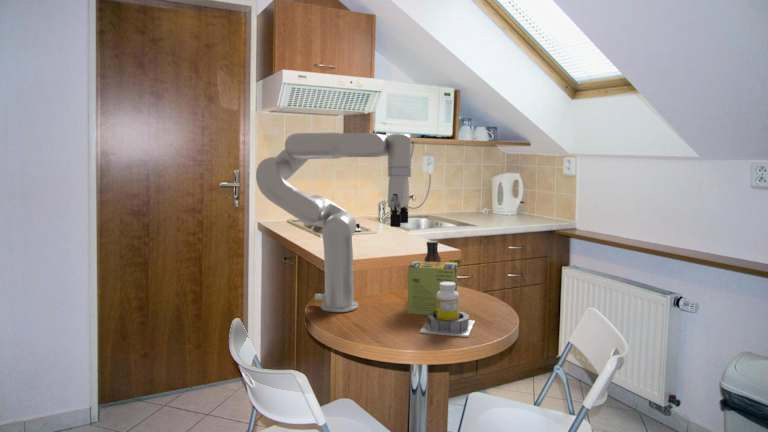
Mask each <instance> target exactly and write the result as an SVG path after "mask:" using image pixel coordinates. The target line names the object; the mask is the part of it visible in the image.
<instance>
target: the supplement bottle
mask: <svg viewBox="0 0 768 432" xmlns="http://www.w3.org/2000/svg"><path fill="white" fill-rule="evenodd" d="M455 288H456V284H455V283H454V282H441V283H440V291H439V292H438V293H437V295H436V318H437V319H440V320H449V321H450V320H459V311H460V293H459V292H458V291H457V292H456V291H455Z"/></svg>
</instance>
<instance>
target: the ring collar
mask: <svg viewBox="0 0 768 432" xmlns="http://www.w3.org/2000/svg"><path fill="white" fill-rule="evenodd" d="M426 316H427V318H426V322H425V323H424V324H423V326H422V327H421V329H420V330H419V334H429V335H441V336H451V337H461V338H469V336H470V335H471V332H472V330H473V327H474V325H475V324H476V320H471V319H470V315H469V314H468V313H467V312H463V311H460V310H459V320H450V321H449V320H440V319H437V318H436V311H433V312H430V313H429V314H428V315H426Z"/></svg>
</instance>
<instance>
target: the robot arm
mask: <svg viewBox="0 0 768 432" xmlns="http://www.w3.org/2000/svg"><path fill="white" fill-rule="evenodd" d="M385 156H387V177H388V188H387V189H388V190H387V207H388V208H389V209H390V212H389V215H390V217H389V218H390V221H389V222H390V223H389V225H390V227H391V228H400V227H401V224H408V223H409V205H410V181H409V178H411V177H412V137H411V136H410V135H409V134H407V133H393V134H390V135H389V134H382V133H381V134H380V133H378V132H377V133H376V132H364V133H363V132H357V133H356V132H355V133H354V132H353V133H352V132H351V133H349V132H347V133H345V132H344V133H341V132H340V133H339V132H296V133H291V134H290V135H288V136H287V137H286V139H285V142H284V149H283V150H282V151H280V153H279V154H277V156H276V157H275V156H274V157H271V156H270V157H266V158H264V159H263V160H261V161H260V162H259V163H258V165H257V167H256V171H255V179H256V181H255V182H256V184H257V186H258V189H259V190H260V193H261V194H263V196H264V197H265V198H266V199H268V200H269V201H270V202H271V203H273V204H274V205H275V206H277V207H279V208H281V209H282V210H284V211H285V212H286V213H288V214H289V215H291V216H293V217H294V218H296V219H297V220H299V221H300V222H302V223H303V224H305V225H308V226H316V225H317V226H319V227H321V228H322V235H321V236H322V244H323V258H324V259H323V260H324V261H323V263H324V292H323V294H322V293H314V301H318V302H319V301H321V304H320V309H321V310H322V311H325V312H328V313H329V312H330V313H347V312H351V311H354V310H356V309H358V308H359V302H358V301H355V300H354V257H353V256H354V252H353V251H354V250H353V235H354V233H355V232H356V230H357V229H356V228H357V222H356V219H355V217H354V216H353V214H351V213H350V212H348V211H347V210H345V209H344V208H342V207H340V206H339V205H338V204H335V203H334V202H333V201H331V200H329V199H328V198H326V197H324V196H321V195H316V194H315V195H309V194H308V193H306V192H304V191H302V190H301V189H299V188H298V187H296V186H294V185H293V184H290V183H289V182H288V181H287V180H288V179H290V178H291V177H292V176H293V175H294V174H295V173H296V172H297V171H298V170H299V169H300V168H301V167H303V165H305V164H306V162H307V161H308V160H336V159H342V158H343V159H344V158H379V157H385Z"/></svg>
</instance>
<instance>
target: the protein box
mask: <svg viewBox="0 0 768 432" xmlns="http://www.w3.org/2000/svg"><path fill="white" fill-rule="evenodd" d="M441 282H454V283H455V284H456V288H455V291H456V292H458V263H457V262H453V261H452V262H450V261H449V262H448V261H447V262H446V261H444V262H443V261H441V262H425V261H412V262H411V263H410V264H409V266H408V267H407V314H408V315H423V316H424V315H425V316H427V315H428V314H429V313H430V312H433V311H436V295H437V293H438V292H439V291H440V283H441Z"/></svg>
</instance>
